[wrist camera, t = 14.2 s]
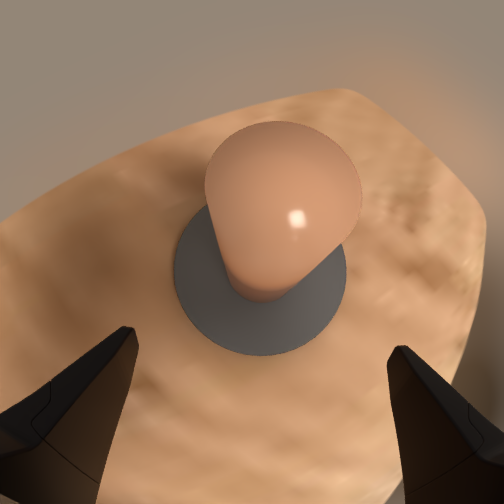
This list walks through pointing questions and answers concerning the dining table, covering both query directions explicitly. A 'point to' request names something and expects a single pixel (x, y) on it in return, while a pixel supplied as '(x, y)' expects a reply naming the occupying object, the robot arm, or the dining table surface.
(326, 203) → the tan rounded cylinder
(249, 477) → the dining table surface
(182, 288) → the mat
